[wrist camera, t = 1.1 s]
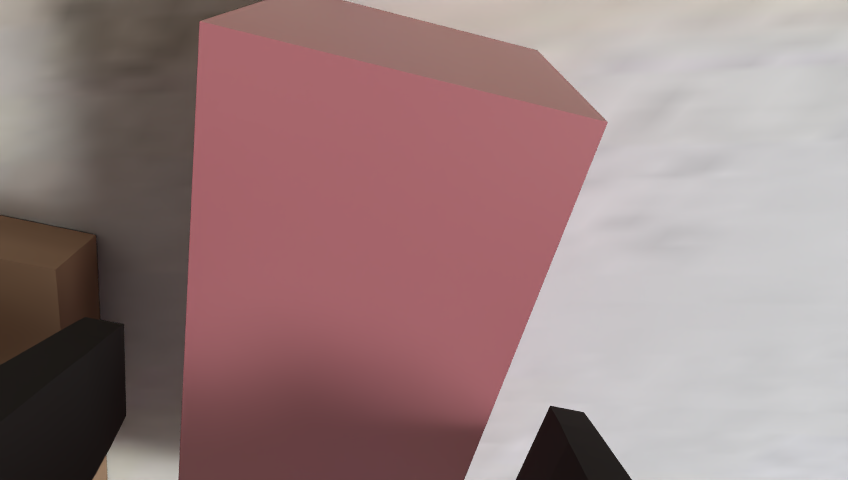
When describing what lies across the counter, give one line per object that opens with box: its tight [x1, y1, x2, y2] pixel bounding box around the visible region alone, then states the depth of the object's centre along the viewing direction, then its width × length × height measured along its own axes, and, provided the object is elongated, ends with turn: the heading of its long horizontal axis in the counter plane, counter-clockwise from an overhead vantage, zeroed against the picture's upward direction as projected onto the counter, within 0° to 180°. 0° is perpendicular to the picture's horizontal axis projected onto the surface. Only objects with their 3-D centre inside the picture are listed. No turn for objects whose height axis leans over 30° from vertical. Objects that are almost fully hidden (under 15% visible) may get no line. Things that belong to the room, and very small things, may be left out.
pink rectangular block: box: [179, 0, 608, 480], centre depth 11 cm, size 12×4×5 cm, turn 167°
